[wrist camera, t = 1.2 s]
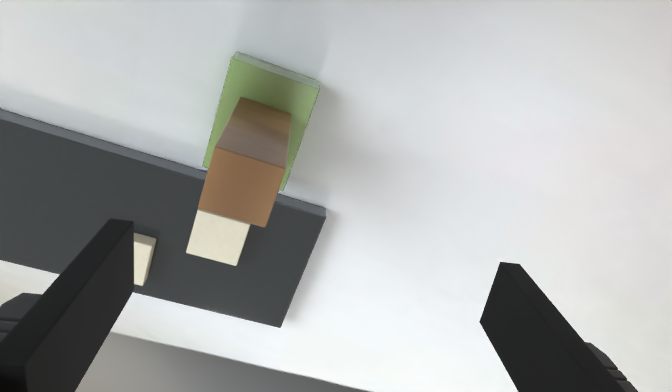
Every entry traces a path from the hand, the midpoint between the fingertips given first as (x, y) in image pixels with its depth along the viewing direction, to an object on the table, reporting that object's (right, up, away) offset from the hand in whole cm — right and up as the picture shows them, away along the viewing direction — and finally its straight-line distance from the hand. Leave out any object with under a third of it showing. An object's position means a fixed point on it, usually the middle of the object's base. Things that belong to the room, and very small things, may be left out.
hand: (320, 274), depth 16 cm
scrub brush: (-5, +9, +17) cm, 20 cm away
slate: (-15, +1, +21) cm, 25 cm away
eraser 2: (-9, 0, +20) cm, 21 cm away
